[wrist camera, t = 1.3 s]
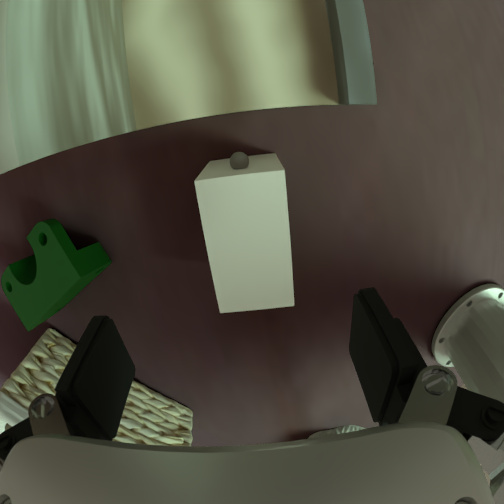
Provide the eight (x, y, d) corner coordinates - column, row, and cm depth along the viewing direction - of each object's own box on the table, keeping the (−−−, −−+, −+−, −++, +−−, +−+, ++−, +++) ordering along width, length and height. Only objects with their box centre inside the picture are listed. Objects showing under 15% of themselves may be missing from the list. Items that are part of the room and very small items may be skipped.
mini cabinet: (273, 140, 22) (282, 152, 16) (284, 258, 27) (294, 305, 20) (208, 148, 23) (191, 163, 16) (226, 264, 27) (220, 313, 21)
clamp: (92, 212, 29) (58, 200, 20) (122, 259, 30) (97, 264, 21) (19, 277, 27) (-26, 286, 19) (46, 321, 28) (7, 343, 19)
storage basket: (208, 410, 37) (198, 511, 23) (154, 445, 42) (139, 520, 29) (46, 311, 30) (-18, 402, 17) (27, 370, 35) (-13, 441, 22)
